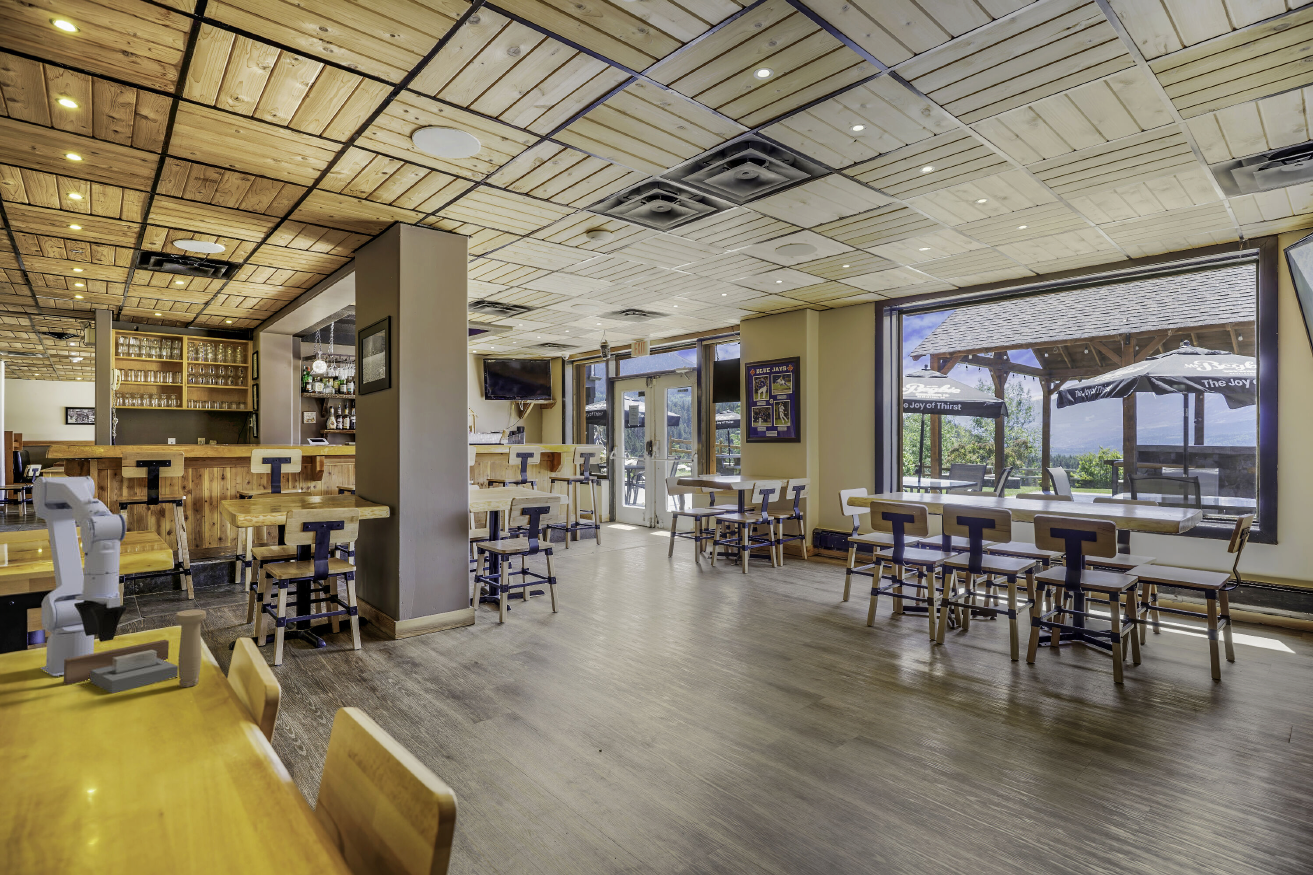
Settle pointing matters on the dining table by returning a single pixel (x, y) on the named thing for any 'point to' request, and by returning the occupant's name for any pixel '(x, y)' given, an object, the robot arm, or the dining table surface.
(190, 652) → the handle
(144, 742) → the dining table surface
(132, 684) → the slotted grey plate
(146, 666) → the white wooden block
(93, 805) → the dining table surface
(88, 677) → the brown long flat block
